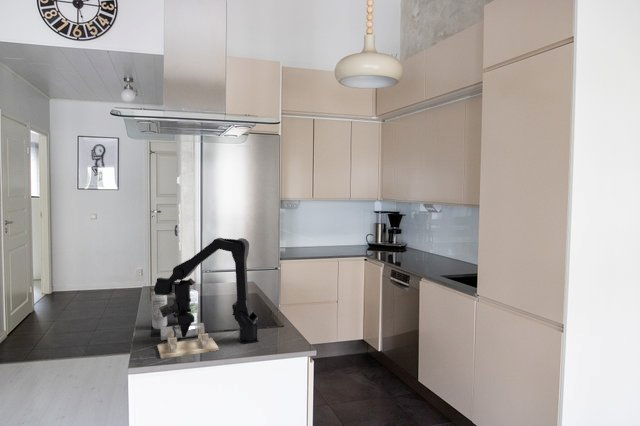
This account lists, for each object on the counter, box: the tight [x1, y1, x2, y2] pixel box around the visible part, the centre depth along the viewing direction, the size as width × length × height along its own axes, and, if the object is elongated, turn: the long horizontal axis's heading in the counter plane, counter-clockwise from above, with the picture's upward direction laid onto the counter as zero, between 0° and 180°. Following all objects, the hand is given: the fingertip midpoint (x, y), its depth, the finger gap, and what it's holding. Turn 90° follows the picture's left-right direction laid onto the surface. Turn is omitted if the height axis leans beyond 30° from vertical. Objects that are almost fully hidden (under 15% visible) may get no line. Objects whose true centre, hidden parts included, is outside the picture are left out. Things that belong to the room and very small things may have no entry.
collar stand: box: [157, 326, 219, 359], centre depth 167 cm, size 20×12×6 cm, turn 115°
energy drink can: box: [151, 291, 168, 330], centre depth 191 cm, size 6×6×15 cm
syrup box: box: [188, 288, 199, 324], centre depth 196 cm, size 6×6×14 cm
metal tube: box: [160, 322, 205, 341], centre depth 178 cm, size 16×5×5 cm, turn 115°
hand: (182, 334), depth 178 cm, fingers open, 5 cm apart
